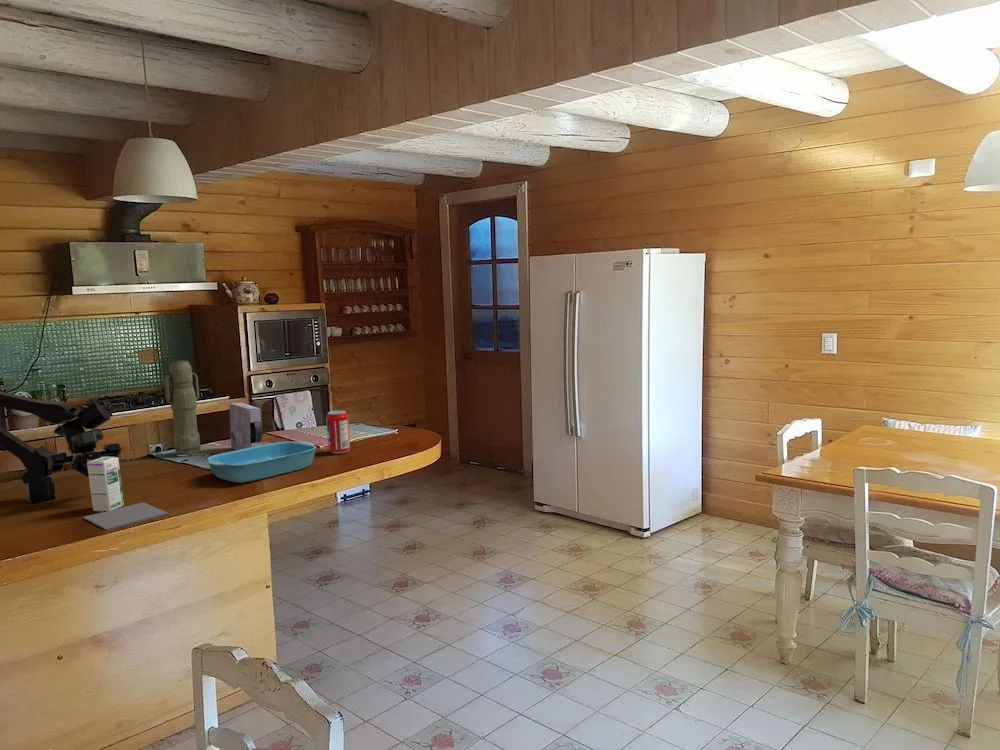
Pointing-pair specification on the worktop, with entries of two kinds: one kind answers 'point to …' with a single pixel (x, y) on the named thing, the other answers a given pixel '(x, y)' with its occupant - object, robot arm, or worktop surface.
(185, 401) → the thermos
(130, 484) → the worktop surface
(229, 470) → the casserole dish
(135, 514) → the mat
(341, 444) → the soda can
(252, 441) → the cake pan box
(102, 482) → the syrup box
